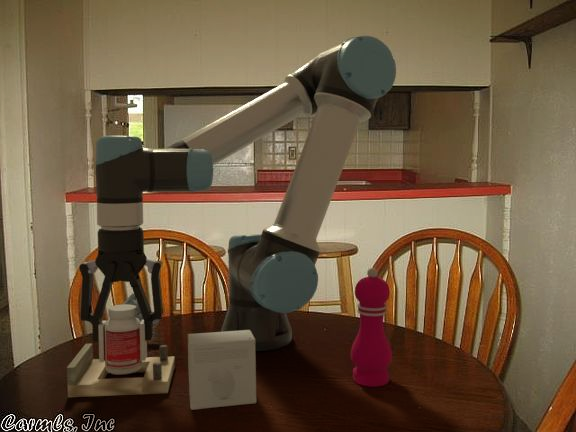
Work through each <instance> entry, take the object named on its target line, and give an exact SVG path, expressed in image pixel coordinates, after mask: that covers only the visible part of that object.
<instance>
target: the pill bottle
mask: <svg viewBox="0 0 576 432" xmlns="http://www.w3.org/2000/svg"><path fill="white" fill-rule="evenodd" d="M122 304H123V303H122ZM122 304H114V305H111V306H109V307H108V309H107V310H108V313H107V314H108V318H109V319H108V320H106V323H105V326H104V333H105V369H106V371H107V372H108V373H111V375H116V376H120V375H121V376H123V375H129V374H133V373H134V372H136V371H138V370H139V369H140V368H141V366H142V361H140V323H141V322H140V320H139V319H138V318H136V317H135V316H136V314H137V307H136V306H135V305H129V304H123V305H122Z"/></svg>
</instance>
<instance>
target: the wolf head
mask: <svg viewBox="0 0 576 432" xmlns="http://www.w3.org/2000/svg"><path fill="white" fill-rule="evenodd" d="M123 304H129V305H135V306H136V307H137V314H136V316H135V317H136V318H138V319H139V320H140V322H141V321H142V320H144V319H143V316H142V314H141V311H140V308H139V305H138V303H137V300H136V297H135V294H134V292H133V293H131V294H130V295H129V296H128V297H127V299H126V300H125V301H123V302H122V304H121V305H123ZM160 319H161V318H160ZM160 319H156V320H154V321H153V328H154V327H156V326H157V325H158V324H159V322H160Z"/></svg>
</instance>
